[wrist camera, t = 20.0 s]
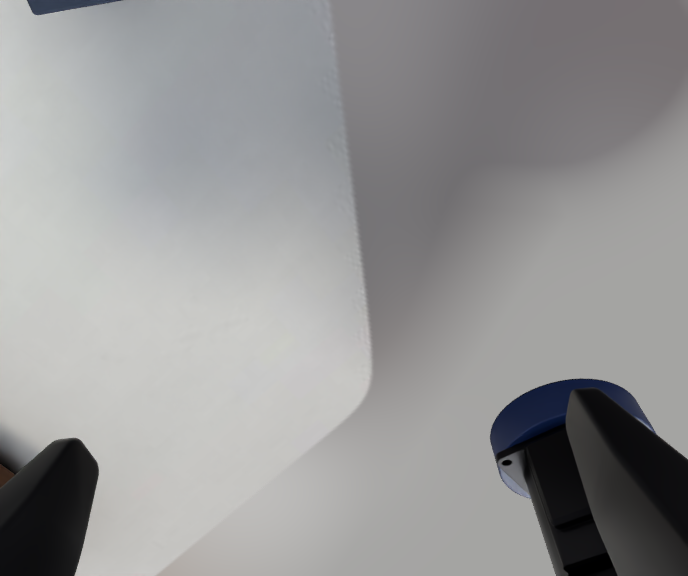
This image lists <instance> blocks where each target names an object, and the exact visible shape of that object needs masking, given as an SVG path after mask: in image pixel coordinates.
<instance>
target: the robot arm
mask: <svg viewBox="0 0 688 576" xmlns="http://www.w3.org/2000/svg"><path fill="white" fill-rule="evenodd" d="M495 459H496V462H497V465H498V467H500V468H501V469H502V470H503V471H504V472H505V473H506V474H507V475H508V476H509V477H510V478H511V479H512V480H514V481H515V482H516V483H517V484H518V485H519V486H520V487H521V488H522V489H523V490H524V491H525V492H526V493H528V494H529V495H530V497H531V499H532V503H533V506H534V509H535V512H536V515H537V518H538V521H539V524H540V527H541V530H542V534H543V537H544V540H545V543H546V546H547V549H548V552H549V555H550V558H551V561H552V564H553V568H554V571H555V574H556V576H688V459H687V458H685V457H684V456H683V455H682V454H680V453H679V452H678V451H677V450H675V449H674V448H673V447H671V446H670V445H669V444H668V443H666V442H665V441H664V440H663V439H661V438H660V437H659V436H658V435H657V434H655V433H654V432H653V431H652V430H650V429H649V428H648V427H647V426H645V425H644V424H643V423H642V422H640V421H639V420H638V419H637V418H635V417H634V416H633V415H631V414H630V413H629V412H628V411H626V410H625V409H624V408H623V407H621V406H620V405H619V404H618V403H616V402H615V401H614V400H613V399H611V398H610V397H609V396H608V395H606V394H605V393H604V392H603V391H601V390H600V389H598V388H595V387H590V388H580V389H574V390H572V391H571V393H570V397H569V403H568V408H567V414H566V423H564V424H562V425H560V426H557V427H555V428H553V429H551V430H548V431H546V432H544V433H541V434H539V435H537V436H535V437H532V438H530V439H528V440H525V441H523V442H521V443H519V444H516V445H514V446H512V447H509V448H507V449H505V450H503V451H500V452H499V453H497V454H496V456H495ZM98 475H99V468H98V464H97V462H96V460H95V459H94V457H93V456H92V455H91V453H90V452H89V451H88V449H87V448H86V447H85V445H84V444H83V443H82V441H81V440H79V439H77V438H68V439H59V440H56V441H54V442H52V443H51V444H49V445H48V446H47V447H46V448H45V449H44V450H43V451H42V452H40V453H39V454H38V455H37V456H36V457H35V458H34V459H33V460H31V461H30V462H29V463H28V464H27V465H26V466H25V467H24V468H22V469H21V470H20V471H19V472H18V473H17V474H16V475H15V476H14V477H12V478H11V479H10V480H9V481H8V482H7V483H6V484H5V485H3V486H2V487H1V488H0V576H74V575H75V572H76V569H77V566H78V562H79V559H80V556H81V552H82V548H83V544H84V539H85V535H86V530H87V526H88V521H89V517H90V512H91V508H92V503H93V498H94V494H95V489H96V485H97V480H98Z"/></svg>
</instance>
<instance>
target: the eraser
mask: <svg viewBox="0 0 688 576" xmlns="http://www.w3.org/2000/svg"><path fill="white" fill-rule="evenodd" d="M27 1H28V4H29V6H30V8H31V10H32V12H33V13H34V14H35V15H42V14H48V13H53V12H59V11H64V10H70V9H76V8H81V7H87V6H93V5H98V4H104V3H109V2H115V1H121V0H27Z"/></svg>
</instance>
